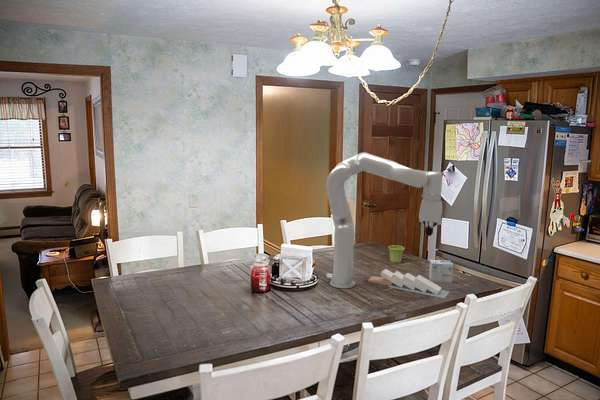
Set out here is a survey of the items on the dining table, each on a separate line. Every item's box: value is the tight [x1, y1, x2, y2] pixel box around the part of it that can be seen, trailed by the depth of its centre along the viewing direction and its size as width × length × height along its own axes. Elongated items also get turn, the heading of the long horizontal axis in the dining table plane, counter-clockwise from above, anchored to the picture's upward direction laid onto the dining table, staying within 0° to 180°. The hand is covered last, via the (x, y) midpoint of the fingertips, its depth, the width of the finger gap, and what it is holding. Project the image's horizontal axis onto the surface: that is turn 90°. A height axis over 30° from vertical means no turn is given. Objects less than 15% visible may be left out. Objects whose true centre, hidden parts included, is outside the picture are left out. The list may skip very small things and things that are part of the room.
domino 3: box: [392, 270, 416, 290], centre depth 219 cm, size 2×6×12 cm
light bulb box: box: [428, 259, 454, 283], centre depth 230 cm, size 11×7×11 cm, turn 84°
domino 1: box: [367, 276, 394, 286], centre depth 225 cm, size 2×6×12 cm
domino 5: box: [414, 274, 442, 295], centre depth 213 cm, size 2×6×12 cm
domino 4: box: [403, 272, 427, 292], centre depth 216 cm, size 2×6×12 cm
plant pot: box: [388, 244, 405, 264], centre depth 264 cm, size 9×9×9 cm
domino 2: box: [379, 268, 404, 288], centre depth 222 cm, size 2×6×12 cm
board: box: [387, 284, 450, 299], centre depth 216 cm, size 27×10×1 cm, turn 59°
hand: (429, 235), depth 216 cm, fingers closed
